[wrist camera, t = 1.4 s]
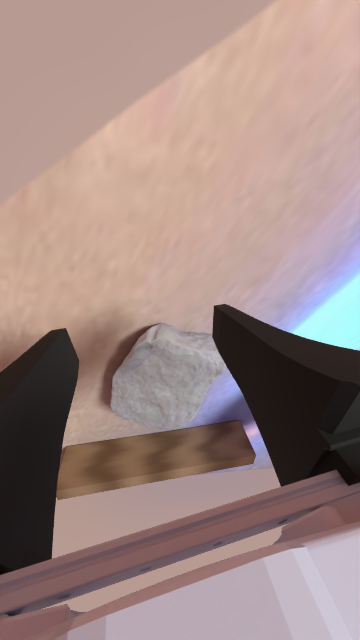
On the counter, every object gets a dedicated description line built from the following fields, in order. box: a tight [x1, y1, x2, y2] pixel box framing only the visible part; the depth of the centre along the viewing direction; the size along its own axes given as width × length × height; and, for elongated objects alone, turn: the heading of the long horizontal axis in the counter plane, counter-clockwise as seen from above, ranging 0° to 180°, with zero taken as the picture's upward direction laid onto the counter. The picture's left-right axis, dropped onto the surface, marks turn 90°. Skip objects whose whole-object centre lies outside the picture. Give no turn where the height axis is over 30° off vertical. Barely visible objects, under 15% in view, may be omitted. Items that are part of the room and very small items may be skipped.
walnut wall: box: [56, 420, 256, 500], centre depth 28 cm, size 24×2×5 cm, turn 89°
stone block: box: [110, 323, 226, 429], centre depth 23 cm, size 12×5×10 cm
